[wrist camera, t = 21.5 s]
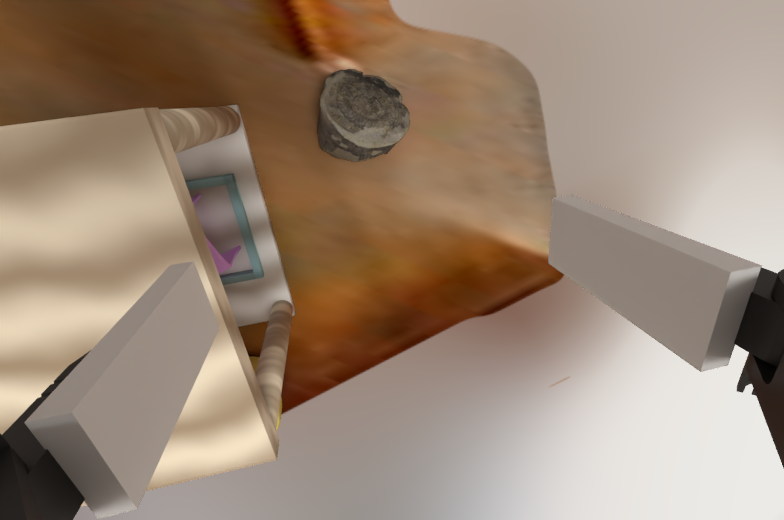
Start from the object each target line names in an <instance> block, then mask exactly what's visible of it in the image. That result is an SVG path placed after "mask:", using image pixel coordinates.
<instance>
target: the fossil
mask: <svg viewBox="0 0 784 520" xmlns="http://www.w3.org/2000/svg"><path fill="white" fill-rule="evenodd" d="M409 125H410V120H409V111H408V109H407V108H406V107H405V106H404V105H403V104H402V96H401V94H400V92H399V91H398V90H397V89H396V88H395V87H393V86H391V85H390V84H389V83H388V82H387V81H386V80H384V79H382V78H381V77H378V76H367V75H363V72H359V71H357V70H354V69H348V70H340V71H337V72H334V73H332V74H331V75H330V76H329V77H328V78H327V79H326V80H325V83H324V91H323V93H322V95H321V97H320V116H319V122H318V135H319V142H320V147H321V149H322V150H323V151H326V152H328V153H329V154H331V155H332V156H334V157H336V158H340V159H346V160H350V161H353V162H358V161H363V160H367V159H371V158H374V157H376V156H379V155H382V154H387V153H388V152H389V151H390V150H391V148H392V147H393V146H394V145H395V144H396V143H397V142H399V141H400V140H401V139H402V137H403V136H404V135H405V134H406V132H407V131H408V129H409Z"/></svg>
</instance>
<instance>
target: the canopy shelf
mask: <svg viewBox="0 0 784 520" xmlns="http://www.w3.org/2000/svg"><path fill="white" fill-rule="evenodd" d="M198 194H201V195H202V196H201V197H200V199H199V200H198V201H197V202H196V204H195V205H193V202H192V199H191V198H192V197H194V196H196V195H198ZM205 236H206V238H207V239H208V240H209V242H210V243H211V244H212V245H213V247H214V248H215V249H216V250H217V251H218V252H219V253H220V255H222V254H224V253H226V252H228V251H230V250H231V249H233V248H235V247H237V246H239V245H240V246H241V249H240V250H239V252H238V254H237V256H236V257H235V259H234V261H233V264H232V267H231V268H229V269H227V270H225V271H224V272H222V273H220V274H219V273H218V271H217V268H216V265H215V262H214V260H213V257H212V254H211V251H210V249H209V246H208V243H207V240H206V238H205ZM192 261H194V263H195V266H196V268H197V271H198V274H199V276H200V279H201V281H202V284H203V286H204V289H205V291H206V294H207V297H208V299H209V302H210V304H211V307H212V309H213V312H214V315H215V317H216V320H217V322H218V325H219V327H220V328H219V330H218V333H217V335H216V337H215V339H214V342H213V344H212V346H211V348H210V350H209V353H208V355H207V357H206V359H205V361H204V364H203V366H202V368H201V370H200V372H199V375H198V377H197V379H196V381H195V383H194V386H193V388H192V390H191V392H190V394H189V397H188V399H187V401H186V403H185V406H184V408H183V410H182V412H181V414H180V417H179V419H178V421H177V423H176V425H175V428H174V430H173V432H172V434H171V436H170V439H169V441H168V443H167V445H166V447H165V450H164V452H163V454H162V456H161V459H160V461H159V463H158V465H157V467H156V470H155V472H154V474H153V476H152V478H151V481H150V483H149V485H148V487H147V489H146V491H149V490H153V489H157V488H161V487H165V486H169V485H173V484H178V483H182V482H186V481H190V480H195V479H199V478H203V477H207V476H211V475H215V474H219V473H224V472H228V471H232V470H236V469H241V468H245V467H249V466H253V465H257V464H261V463H266V462H269V461H274V460H277V455H278V446H279V439H278V436H277V433H276V427H277V420H278V413H279V406H280V399H281V391H282V384H283V377H284V370H285V363H286V356H287V349H288V342H289V334H290V327H291V320H292V316H295V313H296V312H295V308H294V305H293V301H292V297H291V294H290V290H289V287H288V283H287V279H286V276H285V272H284V268H283V265H282V261H281V258H280V254H279V250H278V247H277V243H276V240H275V236H274V232H273V229H272V225H271V222H270V218H269V214H268V211H267V207H266V203H265V200H264V196H263V193H262V189H261V185H260V182H259V178H258V175H257V171H256V167H255V164H254V160H253V157H252V153H251V149H250V146H249V142H248V138H247V135H246V131H245V128H244V124H243V120H242V117H241V113H240V110H239V106H238V105H230V106H221V107H200V108H179V109H159V108H158V107H155V108H139V109H131V110H123V111H116V112H108V113H100V114H93V115H85V116H77V117H70V118H62V119H54V120H47V121H39V122H31V123H23V124H16V125H8V126H0V434H1V435H2V434H3V433H4V432H5V431H6V430H7V429H8V428H9V427H10V426H11V425H12V424H13V423H14V422H15V421H16V420H17V419H18V418H19V417H20V416H21V415H22V414H23V413H24V412H25V410H26V409H27V408H28V407H29V406H30V405H31V404H32V403H33V402H34V401H35V400H36V399H37V398H39V397H41V394H42V393H43V392H44V391H45V390H46V389H47V388H48V387H49V385H50V384H54V380H55V379H56V378H57V377H58V376H59V375H60V374H61V373H62V372H63V371H64V370H65V369H66V368H67V367H68V366H69V365H70V364H72V363H73V362H75V361H76V360H77V359H79V358H80V357H82V356H83V355H84V354H86V353H87V352H89V351H91V350H92V349H93V348H94V347H95V346H96V345H97V344H98V342H99V341H100V340H101V339H102V338H103V337H104V336H105V335H106V334H107V333H108V332H109V331H110V330H111V328H112V327H113V326H114V325H115V324H116V323H117V322H118V321H119V320H120V319H121V318H122V317H123V316H124V314H125V313H126V312H127V311H128V310H129V309H130V308H131V307H132V306H133V305H134V304H135V303H136V302H137V300H138V299H139V298H140V297H141V296H142V295H143V294H144V293H145V292H146V291H147V290H148V289H149V288H150V286H151V285H152V284H153V283H154V282H155V281H156V280H157V279H158V278H159V277H160V276H161V275H162V274H163V272H164V271H165V270H166V269H167V268H168V267H169V266H170V265H175V264H180V263H186V262H192ZM265 321H268V325H267V329H266V333H265V337H264V341H263V345H262V350H261V354H260V358H259V362H258V366H257V370H256V374H255V373H254V370H253V367H252V364H251V362H250V359H249V356H248V353H247V351H246V348H245V345H244V342H243V340H242V337H241V334H240V331H239V329H238V327H240V326H245V325H250V324H255V323H260V322H265ZM86 505H87V504H86V503H85V501H84V502H83V503H82V505H81V507H82V506H86Z"/></svg>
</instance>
